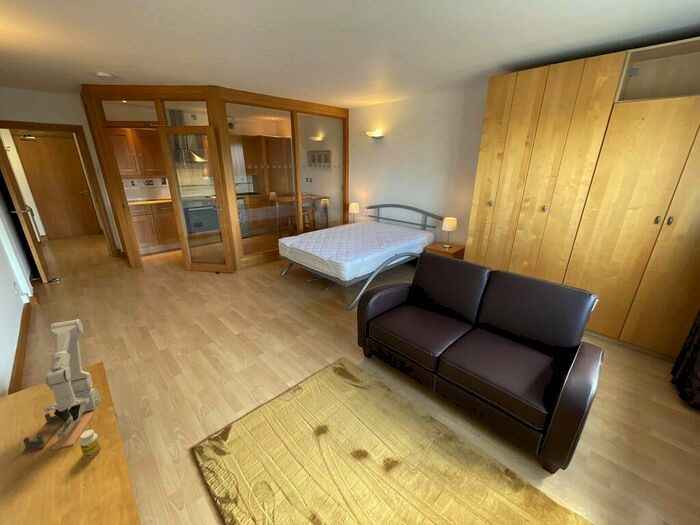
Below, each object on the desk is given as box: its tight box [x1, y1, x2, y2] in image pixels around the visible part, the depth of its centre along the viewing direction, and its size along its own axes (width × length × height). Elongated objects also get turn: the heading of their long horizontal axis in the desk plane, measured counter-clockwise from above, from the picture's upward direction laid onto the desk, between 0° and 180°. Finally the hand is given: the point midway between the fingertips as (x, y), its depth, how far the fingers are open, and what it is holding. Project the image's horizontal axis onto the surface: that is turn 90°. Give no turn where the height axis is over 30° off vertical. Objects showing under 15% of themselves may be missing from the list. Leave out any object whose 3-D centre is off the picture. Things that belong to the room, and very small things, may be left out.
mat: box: [51, 411, 96, 451], centre depth 125 cm, size 7×18×1 cm, turn 18°
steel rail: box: [56, 405, 86, 439], centre depth 124 cm, size 16×2×2 cm, turn 18°
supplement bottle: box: [79, 429, 102, 459], centre depth 114 cm, size 5×5×10 cm
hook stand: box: [22, 412, 65, 454], centre depth 122 cm, size 17×6×5 cm, turn 19°
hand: (72, 420), depth 123 cm, fingers closed on steel rail, 2 cm apart
